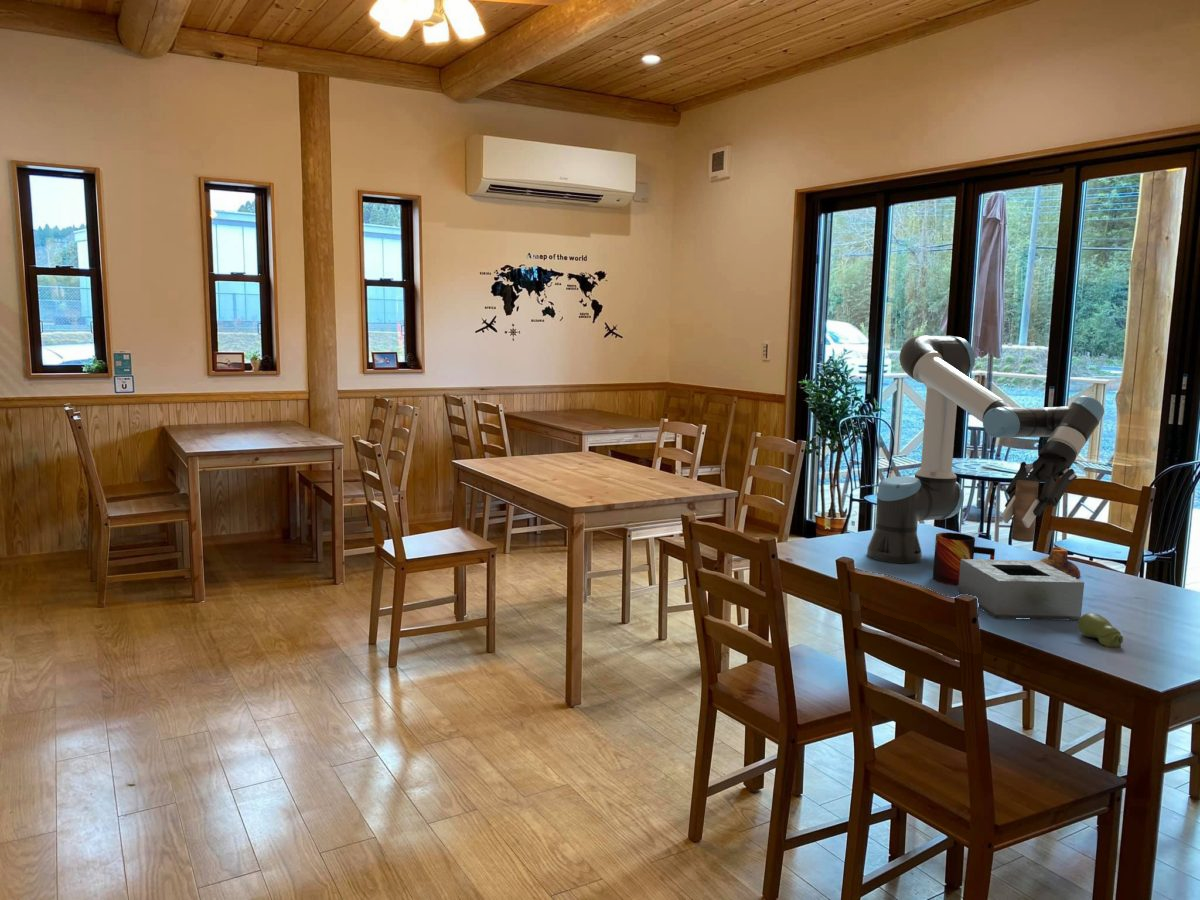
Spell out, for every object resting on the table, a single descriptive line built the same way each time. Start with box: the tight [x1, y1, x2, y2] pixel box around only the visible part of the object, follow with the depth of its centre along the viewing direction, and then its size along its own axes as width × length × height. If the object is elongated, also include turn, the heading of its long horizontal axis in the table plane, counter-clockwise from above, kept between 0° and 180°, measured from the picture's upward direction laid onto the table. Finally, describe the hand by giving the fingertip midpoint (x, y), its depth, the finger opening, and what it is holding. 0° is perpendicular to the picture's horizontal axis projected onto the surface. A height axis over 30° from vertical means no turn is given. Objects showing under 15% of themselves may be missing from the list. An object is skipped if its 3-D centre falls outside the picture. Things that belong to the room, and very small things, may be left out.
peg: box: [1011, 480, 1040, 543], centre depth 212 cm, size 5×5×14 cm
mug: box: [932, 532, 996, 586], centre depth 237 cm, size 10×14×12 cm
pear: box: [1077, 612, 1124, 648], centre depth 191 cm, size 6×5×10 cm
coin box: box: [957, 558, 1085, 621], centre depth 214 cm, size 20×20×9 cm
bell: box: [1038, 546, 1081, 578], centre depth 248 cm, size 12×12×7 cm
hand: (1014, 521), depth 210 cm, fingers closed on peg, 5 cm apart
